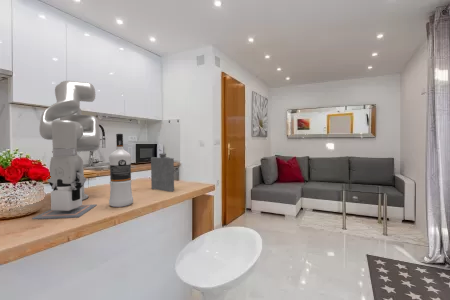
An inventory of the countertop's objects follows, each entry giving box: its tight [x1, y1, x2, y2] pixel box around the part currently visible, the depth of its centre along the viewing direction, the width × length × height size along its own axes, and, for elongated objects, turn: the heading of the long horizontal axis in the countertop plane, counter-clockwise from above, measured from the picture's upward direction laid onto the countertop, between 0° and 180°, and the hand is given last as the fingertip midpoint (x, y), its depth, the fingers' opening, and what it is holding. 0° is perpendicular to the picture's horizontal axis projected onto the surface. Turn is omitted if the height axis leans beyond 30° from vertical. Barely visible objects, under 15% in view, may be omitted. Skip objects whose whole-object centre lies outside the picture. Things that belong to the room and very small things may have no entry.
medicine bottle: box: [50, 179, 83, 211], centre depth 87 cm, size 7×7×12 cm
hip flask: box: [150, 153, 175, 193], centre depth 126 cm, size 16×4×20 cm, turn 59°
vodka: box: [108, 133, 134, 208], centre depth 97 cm, size 9×9×30 cm
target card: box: [31, 204, 98, 220], centre depth 87 cm, size 15×15×1 cm
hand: (67, 199), depth 87 cm, fingers closed on medicine bottle, 7 cm apart
